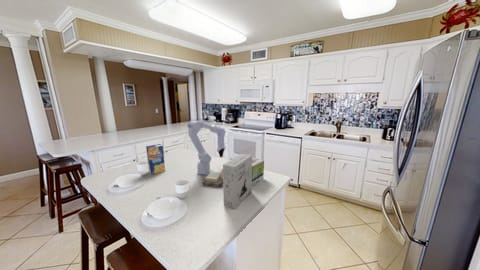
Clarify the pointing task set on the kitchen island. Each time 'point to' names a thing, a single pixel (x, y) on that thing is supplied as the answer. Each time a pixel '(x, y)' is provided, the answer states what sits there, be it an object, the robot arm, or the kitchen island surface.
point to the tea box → (257, 170)
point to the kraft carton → (214, 177)
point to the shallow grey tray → (212, 184)
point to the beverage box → (155, 158)
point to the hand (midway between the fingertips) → (221, 156)
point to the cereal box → (237, 180)
